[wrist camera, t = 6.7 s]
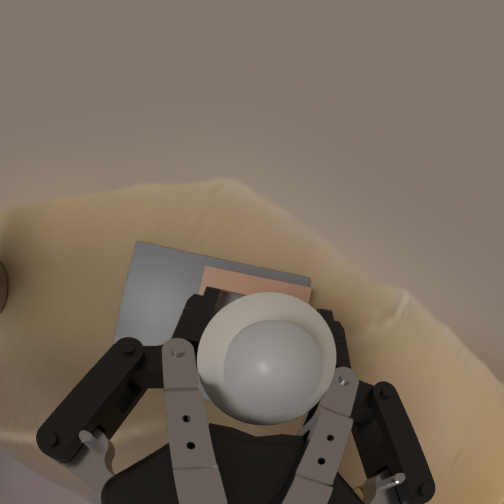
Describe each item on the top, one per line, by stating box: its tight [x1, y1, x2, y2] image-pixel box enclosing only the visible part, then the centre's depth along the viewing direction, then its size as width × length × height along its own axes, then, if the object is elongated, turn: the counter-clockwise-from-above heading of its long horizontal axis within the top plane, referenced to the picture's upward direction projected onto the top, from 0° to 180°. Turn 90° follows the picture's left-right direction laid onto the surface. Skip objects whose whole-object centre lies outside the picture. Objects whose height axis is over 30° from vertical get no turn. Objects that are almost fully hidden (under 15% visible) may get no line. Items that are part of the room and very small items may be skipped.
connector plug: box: [197, 292, 336, 425], centre depth 12 cm, size 5×5×10 cm
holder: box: [113, 241, 312, 401], centre depth 28 cm, size 21×16×4 cm
